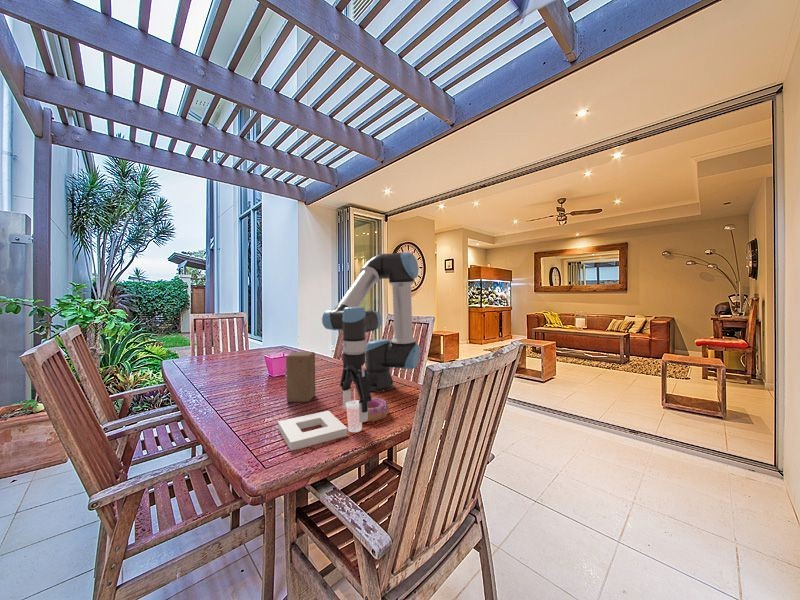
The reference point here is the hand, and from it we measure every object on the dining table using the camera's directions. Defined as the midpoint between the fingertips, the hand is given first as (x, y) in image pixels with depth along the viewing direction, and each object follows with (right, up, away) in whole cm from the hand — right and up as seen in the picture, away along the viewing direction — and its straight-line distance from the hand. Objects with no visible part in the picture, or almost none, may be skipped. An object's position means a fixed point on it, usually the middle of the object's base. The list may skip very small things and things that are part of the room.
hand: (354, 414), depth 107 cm
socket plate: (-14, -5, -2) cm, 15 cm away
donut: (+4, -5, +12) cm, 14 cm away
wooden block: (-28, -5, +31) cm, 42 cm away
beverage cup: (0, -5, 0) cm, 5 cm away
